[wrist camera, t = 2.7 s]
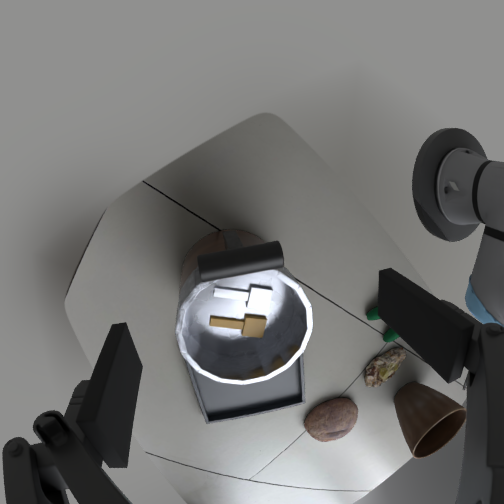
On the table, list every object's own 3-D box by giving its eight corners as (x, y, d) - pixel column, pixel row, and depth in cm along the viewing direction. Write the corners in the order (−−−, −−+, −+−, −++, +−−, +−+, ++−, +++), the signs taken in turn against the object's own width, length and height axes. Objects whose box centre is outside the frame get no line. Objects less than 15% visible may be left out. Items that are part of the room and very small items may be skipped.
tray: (302, 396, 57) (305, 403, 55) (205, 416, 54) (206, 423, 53) (297, 325, 51) (301, 331, 49) (183, 347, 49) (183, 354, 47)
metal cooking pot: (301, 344, 40) (337, 409, 28) (193, 365, 39) (196, 440, 27) (288, 206, 35) (337, 234, 23) (158, 229, 33) (138, 271, 21)
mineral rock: (378, 396, 58) (367, 388, 53) (366, 383, 62) (354, 374, 57) (414, 361, 57) (407, 349, 53) (402, 349, 61) (394, 336, 56)
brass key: (266, 317, 37) (267, 319, 37) (261, 335, 38) (262, 338, 38) (211, 310, 36) (212, 313, 35) (208, 329, 37) (208, 332, 36)
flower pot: (415, 359, 60) (456, 402, 45) (439, 379, 65) (474, 416, 50) (369, 407, 62) (401, 454, 47) (398, 420, 67) (428, 461, 52)
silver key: (272, 288, 36) (273, 290, 36) (267, 307, 37) (268, 310, 37) (215, 280, 35) (216, 282, 34) (211, 301, 36) (212, 303, 35)
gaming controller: (387, 328, 58) (414, 323, 53) (384, 344, 55) (412, 340, 51) (367, 301, 55) (396, 294, 50) (363, 317, 52) (393, 311, 48)
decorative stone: (300, 408, 58) (308, 426, 53) (354, 388, 59) (365, 405, 54) (307, 439, 62) (314, 456, 56) (355, 421, 63) (364, 436, 57)
